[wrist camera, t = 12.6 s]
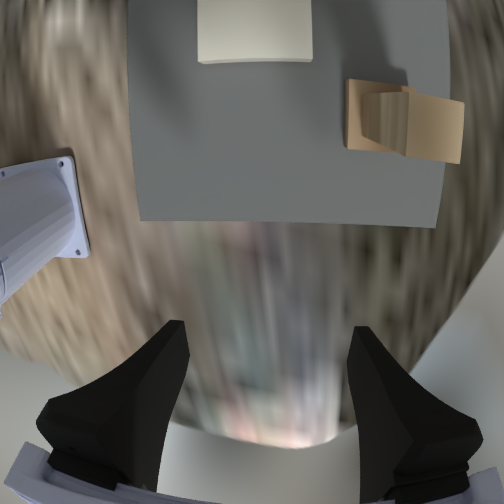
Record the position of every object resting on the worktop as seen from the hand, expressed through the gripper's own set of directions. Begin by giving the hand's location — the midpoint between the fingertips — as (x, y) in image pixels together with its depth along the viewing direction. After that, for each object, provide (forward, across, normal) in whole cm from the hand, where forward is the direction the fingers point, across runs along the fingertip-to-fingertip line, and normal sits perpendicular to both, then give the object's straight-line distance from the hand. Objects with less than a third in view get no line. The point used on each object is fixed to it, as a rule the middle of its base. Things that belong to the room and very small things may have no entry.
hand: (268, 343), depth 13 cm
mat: (+9, -1, -11) cm, 15 cm away
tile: (+8, +1, -12) cm, 14 cm away
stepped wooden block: (+9, -6, -9) cm, 14 cm away
